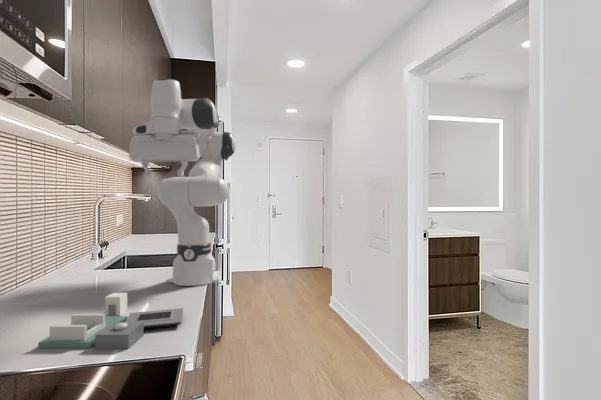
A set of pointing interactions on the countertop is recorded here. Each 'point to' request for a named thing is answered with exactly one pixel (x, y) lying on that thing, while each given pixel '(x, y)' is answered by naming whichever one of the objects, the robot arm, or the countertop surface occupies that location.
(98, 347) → the grey push button
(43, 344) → the board
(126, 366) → the countertop surface
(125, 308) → the plug
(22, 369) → the countertop surface
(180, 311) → the electrical outlet
